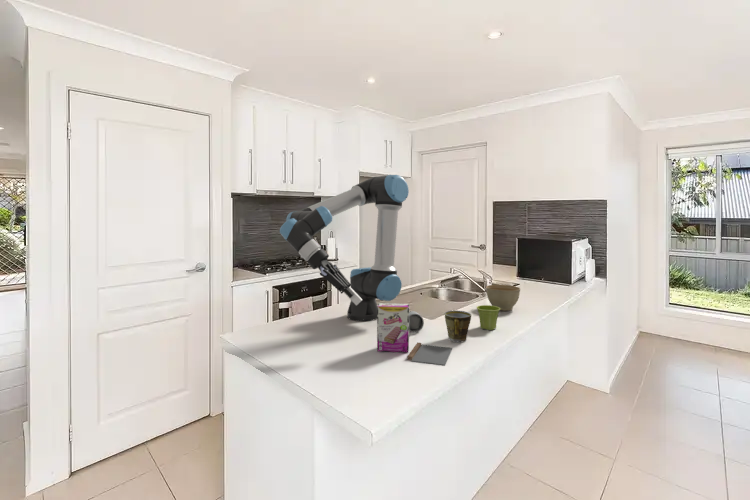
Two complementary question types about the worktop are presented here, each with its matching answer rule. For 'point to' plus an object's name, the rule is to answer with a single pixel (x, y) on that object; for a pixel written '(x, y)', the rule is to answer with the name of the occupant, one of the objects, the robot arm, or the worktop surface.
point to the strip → (414, 351)
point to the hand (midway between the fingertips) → (359, 302)
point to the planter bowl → (503, 296)
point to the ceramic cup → (457, 325)
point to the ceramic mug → (415, 321)
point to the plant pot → (488, 316)
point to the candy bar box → (392, 327)
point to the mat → (432, 354)
